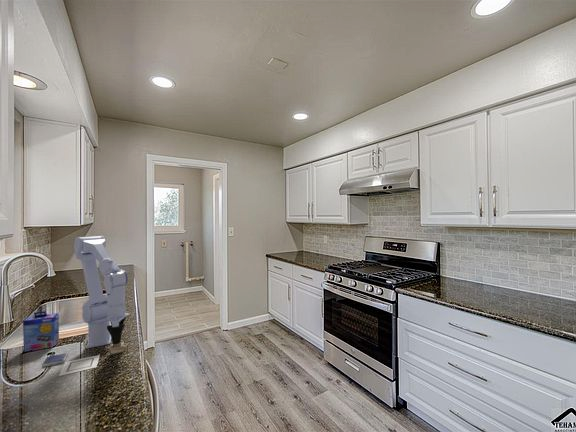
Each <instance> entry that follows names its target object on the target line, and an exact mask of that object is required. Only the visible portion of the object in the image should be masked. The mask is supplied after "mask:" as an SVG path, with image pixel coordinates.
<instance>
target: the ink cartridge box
mask: <svg viewBox="0 0 576 432" xmlns="http://www.w3.org/2000/svg"><path fill="white" fill-rule="evenodd" d="M33 314H34V315H32V316H30V315H29V316H28V317H27V318H25V319H23V320H22V327H23V328H22V332H23V334H22V335H23V339H22V340H23V352H24V353H25V352H30V351H31V350H32V351H36V350H44V348H45V349H50V348H49V347H51V348H54V347H53V346H55V345H56V344H57V343H58V342H59V343H60V324H59V317H60V316H59V313H58V312H54V313H47V312H46V311H44V310H42V311H35V312H33ZM59 343H58V344H59ZM58 344H57V345H58ZM57 345H56V346H57ZM56 346H55V347H56Z"/></svg>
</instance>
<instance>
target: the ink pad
mask: <svg viewBox="0 0 576 432" xmlns="http://www.w3.org/2000/svg"><path fill="white" fill-rule="evenodd" d="M68 357H69V353H68V352H65V353H59V354H55V355H51V356H47V357H46V358H45V360H44V361H43V362H42V364H41V368H45V367H46V368H47V367H52V366H56V364H57V365H60V364H65V363H66V360H67V358H68Z"/></svg>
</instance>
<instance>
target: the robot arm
mask: <svg viewBox="0 0 576 432" xmlns="http://www.w3.org/2000/svg"><path fill="white" fill-rule="evenodd" d="M106 243H107V240H106V238H105V237H104V235H99V236H98V235H97V236H78V237H76V238H75V239H74V242H73V244H74V245H73V249H74V253H75V257H76V259H78V260H80V261H81V265H82V270H83V274H84V281H85V285H86V289H87V295H88V299H87V300H86V301H85V302H84V303H83V305H82V307H81V310H82V314H81V315H82V320H83V322H84V323H85V324H88V325H87V326H88V328H87V329H88V331H87V332H88V335H87V336H88V340H87V341H88V342H87V344H86V346H85V349H90V348H91V349H92V348H95V347H101V346H104V345H105V346H106V345H110V344H111V343H112V344H113V345H115V344H119V343H120V341H121V342H122V334H123V330H124V327H125V326H126V323H124V322H125V320H126V318H127V317H129V315H130V313H129V312H126V286H127V285H128V283H129V276H128V274H127V271H126V270H123V269H120V267H119V266H118V264H117V263H116V261H115V260H114V258H110V257H109V255H108V253H107V250H106ZM97 261H98V263H97ZM99 271H100V273H101V274H102V276H103V284H104V287H105V288H104V289H105V293H106V294H107V295H104V292H103V286H102V283H101V278H100V274H99Z"/></svg>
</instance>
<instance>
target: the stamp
mask: <svg viewBox="0 0 576 432" xmlns="http://www.w3.org/2000/svg"><path fill="white" fill-rule="evenodd" d="M124 343H125V342H122V340H121V341H120V343H119V344H115V345H113V343H112V344H111V346H110V356H113V355H117V354H118V355H119V354H123V353H124V348H125V345H124Z"/></svg>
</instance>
